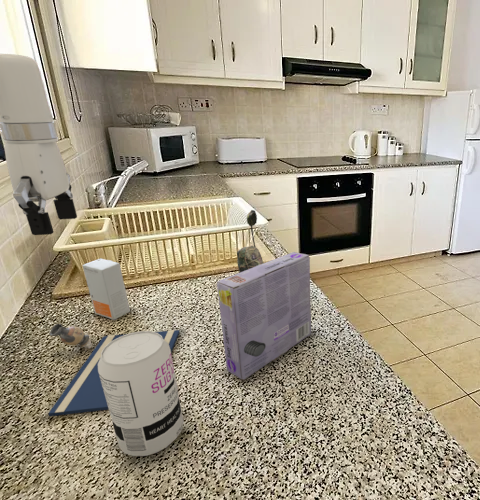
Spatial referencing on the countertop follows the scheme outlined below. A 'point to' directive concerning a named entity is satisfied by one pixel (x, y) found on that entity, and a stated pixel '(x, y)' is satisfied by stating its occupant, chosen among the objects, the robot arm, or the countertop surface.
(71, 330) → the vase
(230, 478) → the countertop surface
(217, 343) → the countertop surface
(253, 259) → the plant with pod
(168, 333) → the towel
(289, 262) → the cake pan box
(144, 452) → the supplement can
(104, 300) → the cosmetic box
